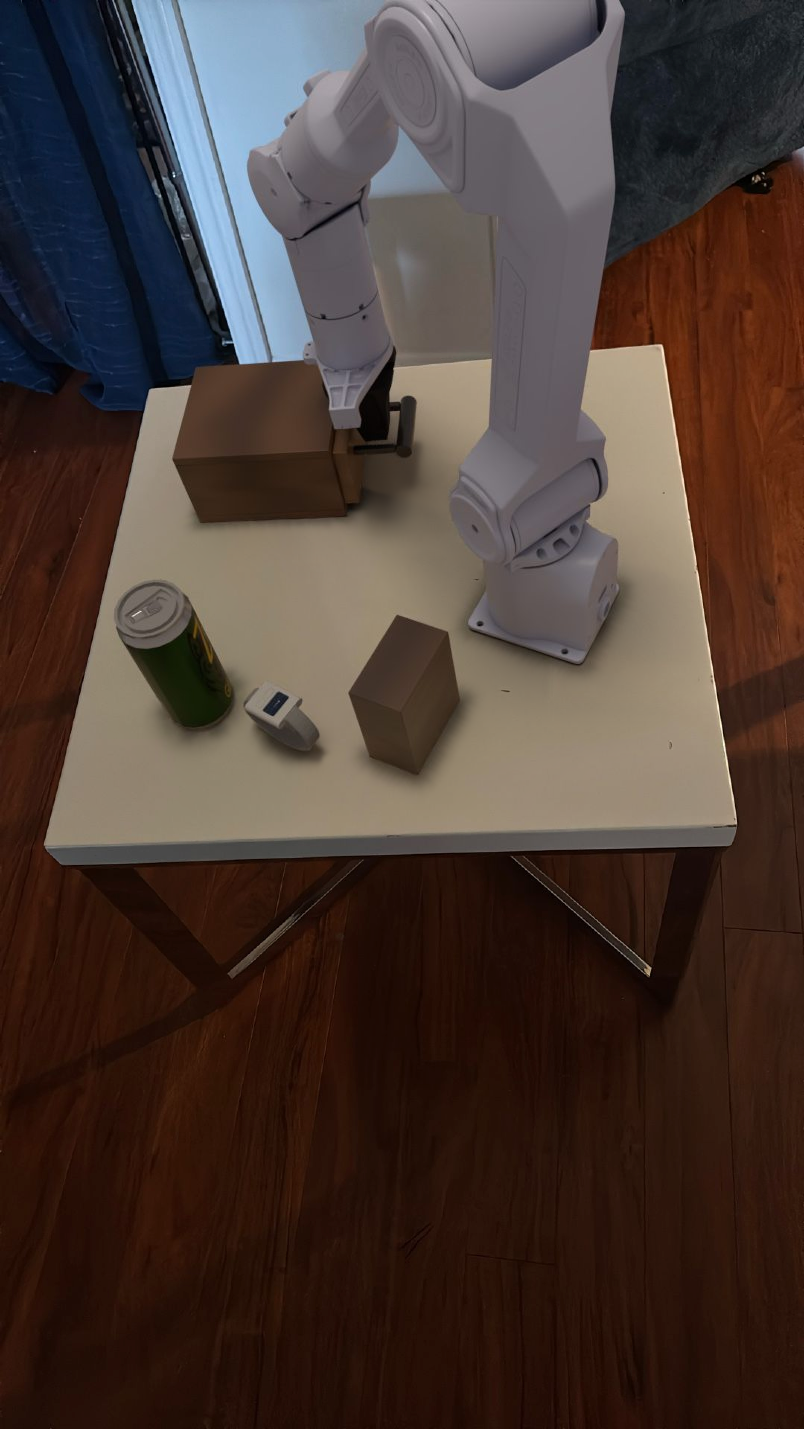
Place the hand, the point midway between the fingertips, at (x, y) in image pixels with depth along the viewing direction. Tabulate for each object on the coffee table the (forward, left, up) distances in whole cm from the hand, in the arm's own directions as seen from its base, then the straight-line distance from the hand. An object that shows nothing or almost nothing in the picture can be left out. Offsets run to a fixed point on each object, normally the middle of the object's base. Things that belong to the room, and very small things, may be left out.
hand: (376, 436), depth 88 cm
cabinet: (+9, +3, -4) cm, 10 cm away
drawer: (+5, +2, -3) cm, 6 cm away
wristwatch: (-6, +27, -4) cm, 28 cm away
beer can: (+2, +27, -4) cm, 27 cm away
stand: (-15, +22, -4) cm, 27 cm away
